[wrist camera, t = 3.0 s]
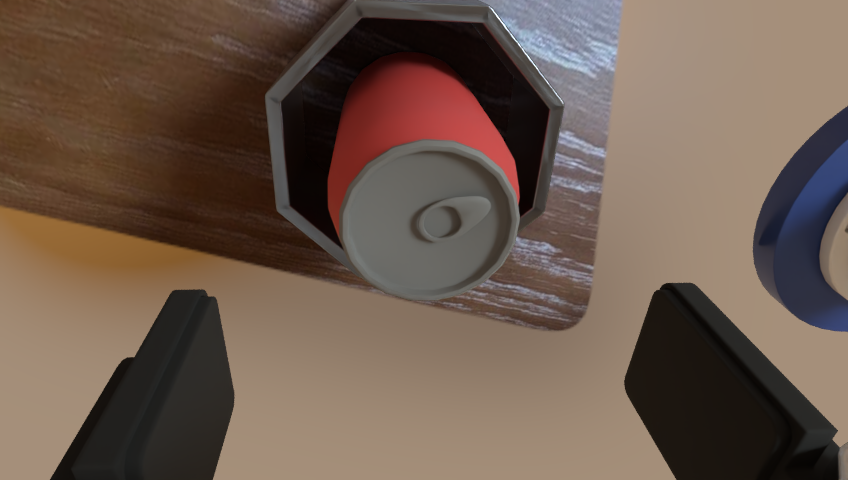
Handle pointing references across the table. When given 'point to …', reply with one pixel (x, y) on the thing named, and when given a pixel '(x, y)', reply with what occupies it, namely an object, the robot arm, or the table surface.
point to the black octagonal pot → (531, 94)
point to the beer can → (421, 181)
